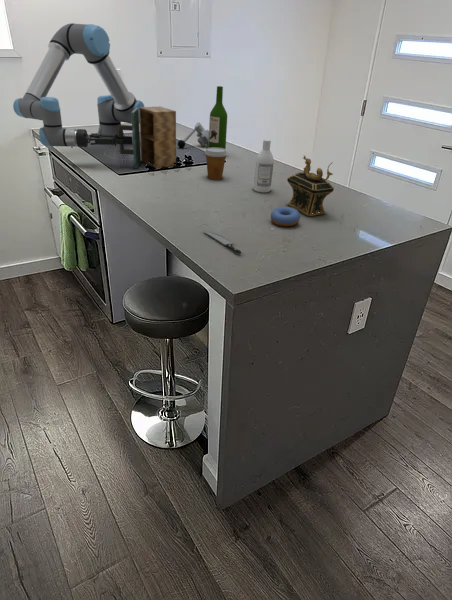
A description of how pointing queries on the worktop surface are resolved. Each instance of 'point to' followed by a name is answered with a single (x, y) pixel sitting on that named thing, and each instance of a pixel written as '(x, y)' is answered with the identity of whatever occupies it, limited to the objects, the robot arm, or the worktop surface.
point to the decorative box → (309, 190)
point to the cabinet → (158, 136)
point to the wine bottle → (218, 122)
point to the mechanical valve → (201, 133)
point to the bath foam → (264, 168)
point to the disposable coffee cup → (215, 162)
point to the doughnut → (285, 216)
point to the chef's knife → (223, 242)
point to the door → (136, 138)
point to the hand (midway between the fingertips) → (131, 140)
